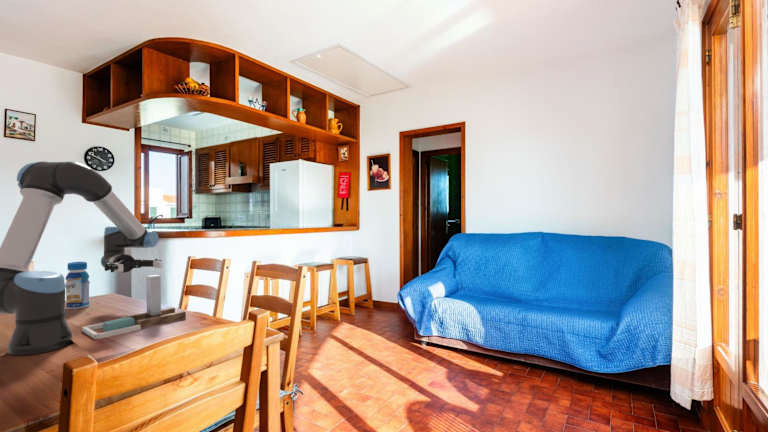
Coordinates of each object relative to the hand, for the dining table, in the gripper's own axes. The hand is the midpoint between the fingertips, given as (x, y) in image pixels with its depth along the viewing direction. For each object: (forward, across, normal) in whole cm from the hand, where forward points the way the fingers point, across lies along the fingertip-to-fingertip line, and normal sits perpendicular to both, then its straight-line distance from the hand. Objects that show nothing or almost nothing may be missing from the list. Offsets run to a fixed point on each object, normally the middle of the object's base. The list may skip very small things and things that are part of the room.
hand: (142, 266), depth 149 cm
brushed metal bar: (+12, 0, -20) cm, 23 cm away
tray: (+12, +14, -22) cm, 28 cm away
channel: (+12, -1, -21) cm, 24 cm away
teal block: (+12, +9, -21) cm, 26 cm away
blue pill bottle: (-45, +9, -20) cm, 50 cm away
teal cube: (+12, +13, -21) cm, 28 cm away
